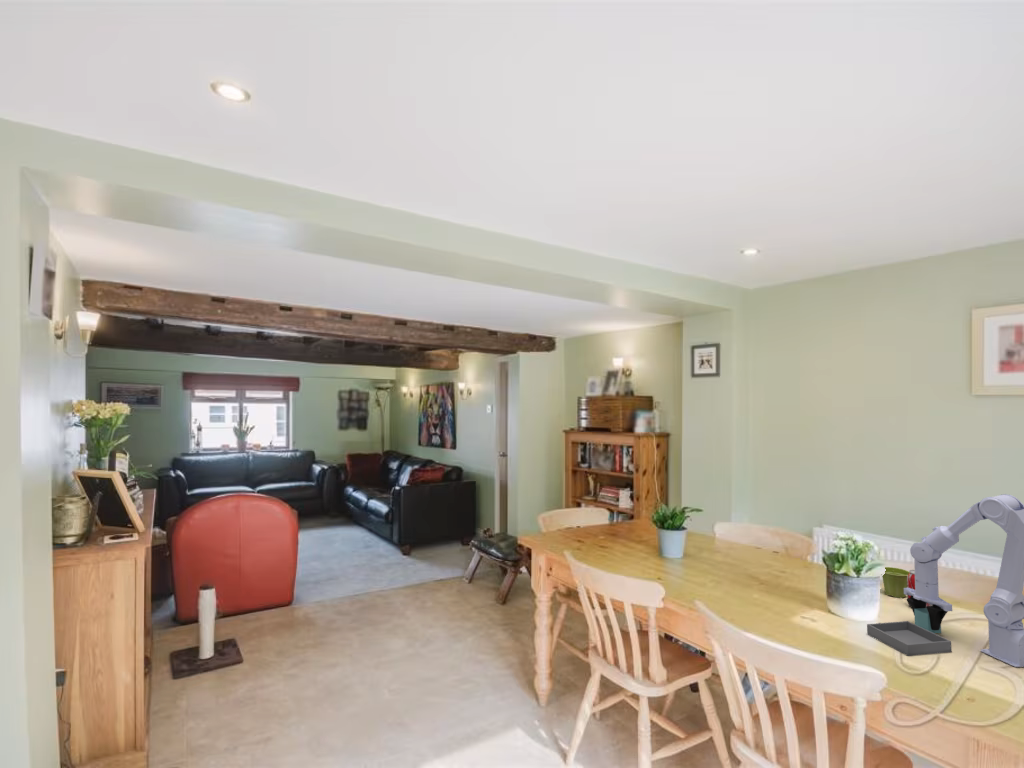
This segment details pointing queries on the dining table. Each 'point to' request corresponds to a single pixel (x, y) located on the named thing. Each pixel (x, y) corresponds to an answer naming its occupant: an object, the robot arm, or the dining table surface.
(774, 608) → the dining table surface
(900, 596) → the plant pot
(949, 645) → the tray
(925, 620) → the teal block
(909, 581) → the soda can
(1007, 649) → the robot arm
